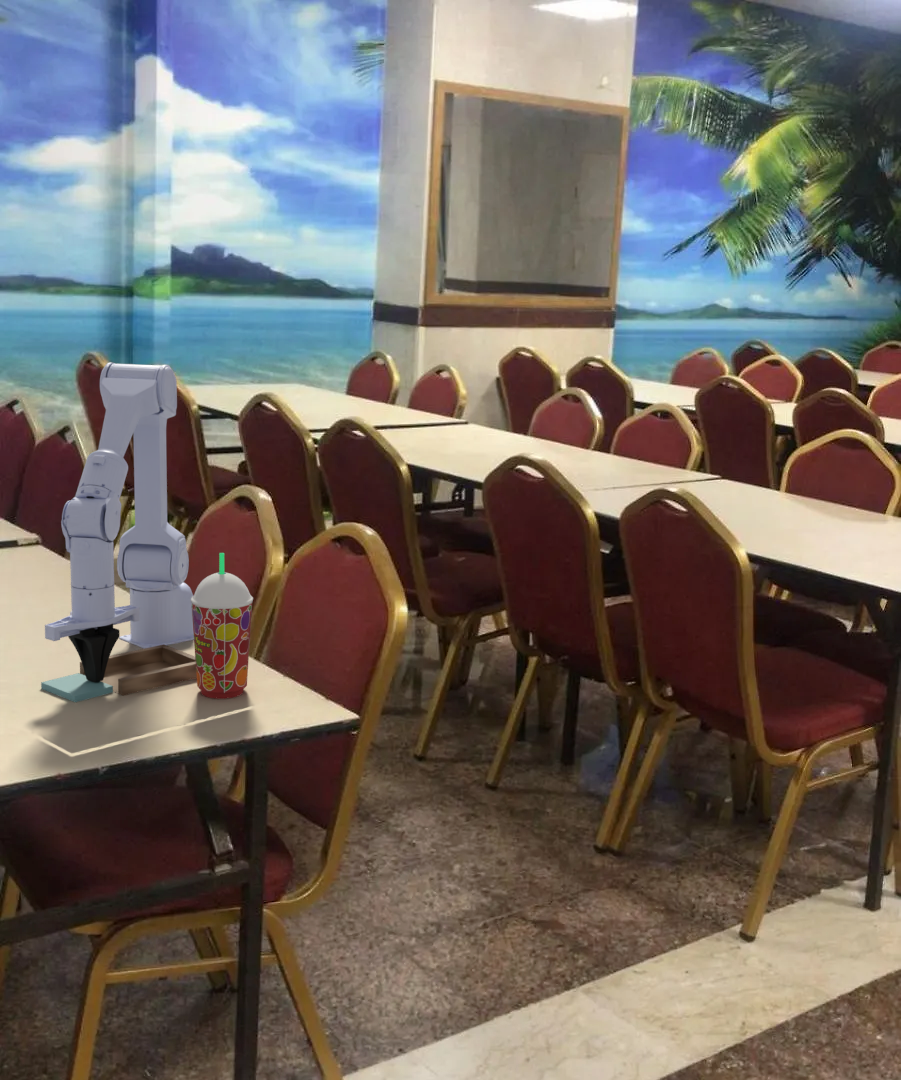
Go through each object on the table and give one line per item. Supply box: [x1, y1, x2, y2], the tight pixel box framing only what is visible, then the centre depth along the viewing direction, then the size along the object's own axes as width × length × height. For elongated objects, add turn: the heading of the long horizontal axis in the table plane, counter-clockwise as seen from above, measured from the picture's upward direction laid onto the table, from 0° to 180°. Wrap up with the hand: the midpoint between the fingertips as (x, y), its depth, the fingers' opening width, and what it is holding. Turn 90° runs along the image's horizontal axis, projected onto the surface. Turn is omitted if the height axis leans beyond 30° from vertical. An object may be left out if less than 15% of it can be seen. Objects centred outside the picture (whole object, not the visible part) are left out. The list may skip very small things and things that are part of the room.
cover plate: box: [40, 672, 114, 703], centre depth 182 cm, size 6×8×2 cm
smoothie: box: [191, 552, 254, 700], centre depth 182 cm, size 8×8×20 cm
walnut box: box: [79, 645, 197, 696], centre depth 189 cm, size 14×11×2 cm
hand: (94, 680), depth 184 cm, fingers closed
